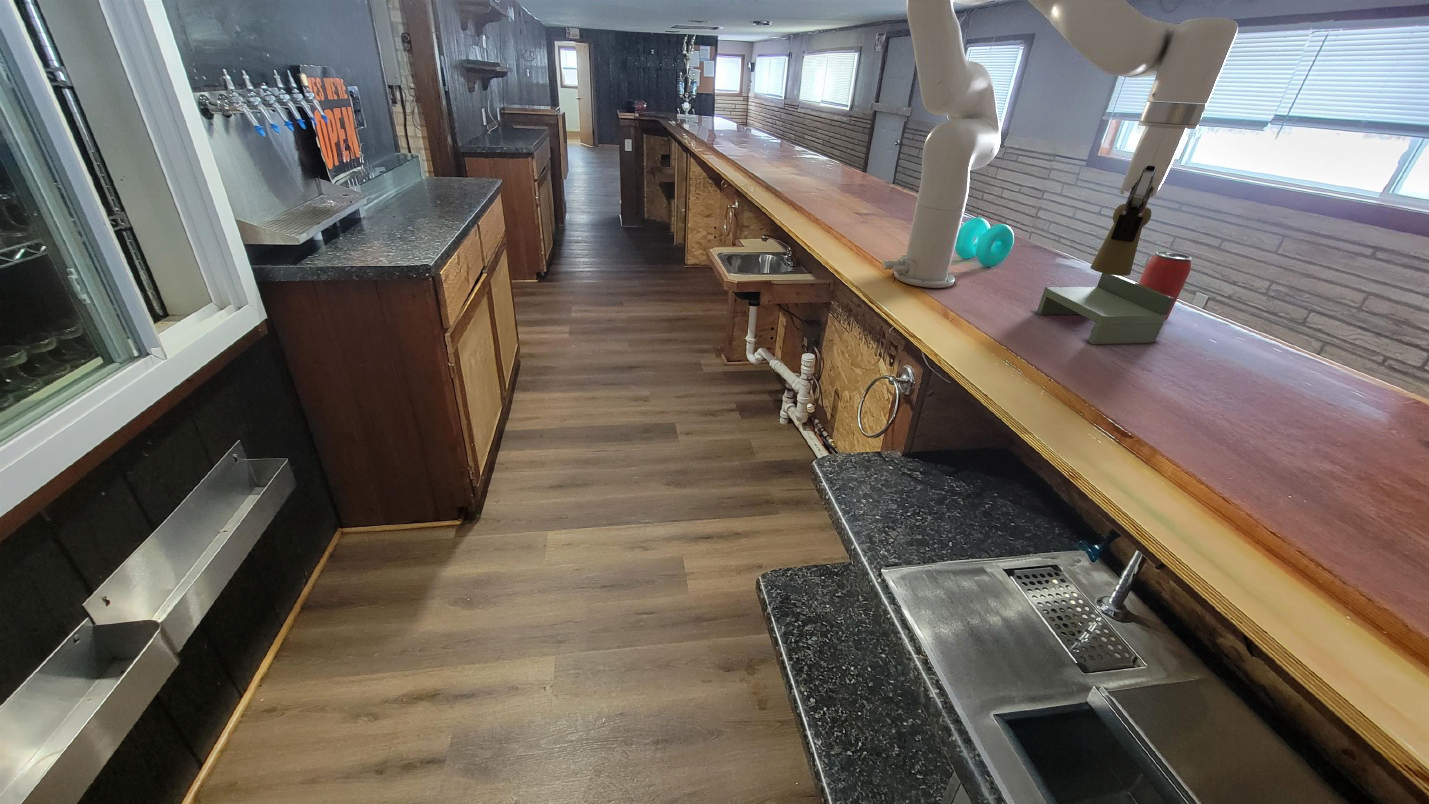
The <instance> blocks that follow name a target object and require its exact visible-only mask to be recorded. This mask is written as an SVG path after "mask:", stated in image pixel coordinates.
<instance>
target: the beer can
mask: <svg viewBox="0 0 1429 804" xmlns="http://www.w3.org/2000/svg"><path fill="white" fill-rule="evenodd" d="M1192 260H1193V258H1192V257H1191V256H1190V255H1187V254H1185V253H1181V252H1180V253H1179V252H1174V251H1168V250H1167V251H1166V250H1158V251H1155V252H1154V254H1153V256H1152V257H1151V258H1150V259H1149V260H1148V261H1147V263H1146V265H1145V268H1144V269H1143V272H1142V274H1141V276H1140V279H1139V282H1138V284H1140V285H1143V286H1145V287H1148V288H1150V289H1153V290H1155V291H1158V292H1160V293H1163V294H1165V295H1168V296H1170V297H1173V298H1175V299H1174V301H1173V303H1172V305H1171V307H1170V309H1169V312H1168V314H1167V316H1166V318H1165V320H1164V322H1165V321H1167V320H1168V319H1169V317H1170V314H1171V313H1172V310H1173V308H1174V307H1175V304H1176V302H1177V300H1178V298H1179V296H1180V294H1181V291H1182V289H1183V287H1184V286H1185V284H1186V281H1187V279H1188V277H1189V275H1190V272H1191V268H1192Z"/></svg>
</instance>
